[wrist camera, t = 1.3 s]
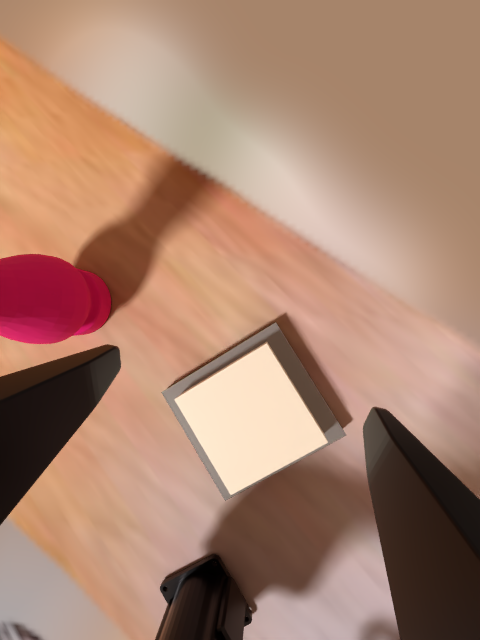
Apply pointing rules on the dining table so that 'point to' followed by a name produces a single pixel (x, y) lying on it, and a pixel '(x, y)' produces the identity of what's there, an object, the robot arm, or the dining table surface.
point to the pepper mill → (49, 299)
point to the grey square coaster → (252, 412)
